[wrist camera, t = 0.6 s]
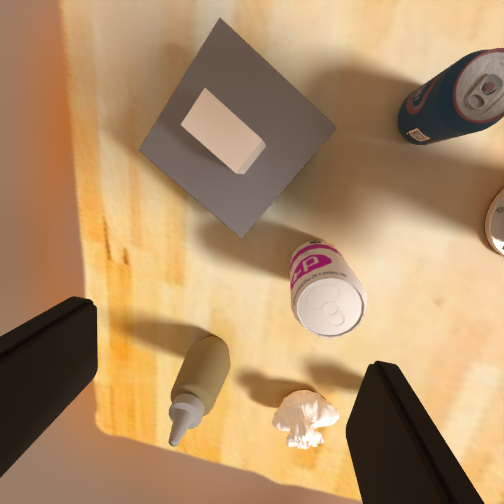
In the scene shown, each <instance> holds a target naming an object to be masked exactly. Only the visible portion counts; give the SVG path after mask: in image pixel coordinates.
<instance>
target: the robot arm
mask: <svg viewBox="0 0 504 504" xmlns="http://www.w3.org/2000/svg"><path fill="white" fill-rule="evenodd" d="M485 233H486V236H487V239H488V241H489V243H490V245H491V246H492V247H493V248H494V249H495V250H496V251H497V252H498V253H500V254H501V255H503V256H504V189H502V190H501V192H500V193H499V194H498V195H497V196H496V197H495V199H494V200H493V202H492V203H491V205H490V207H489V210H488V212H487V215H486V220H485ZM97 368H98V357H97V307H96V306H95V305H94V304H93V301H92V300H90V299H85V298H80V297H75V296H74V297H70V298H68V299H66V300H65V301H63V302H61V303H59V304H58V305H56V306H54V307H52V308H50V309H49V310H47V311H45V312H43V313H42V314H40V315H38V316H36V317H34V318H33V319H31V320H29V321H27V322H26V323H24V324H22V325H20V326H19V327H17V328H15V329H13V330H11V331H10V332H8V333H6V334H4V335H2V336H1V337H0V477H2V475H3V474H4V473H5V472H6V471H7V470H8V469H9V468H10V467H11V466H12V465H13V464H14V463H15V462H16V460H18V458H19V457H20V456H21V455H22V454H23V453H24V452H25V451H26V450H27V449H28V448H29V447H30V446H31V444H32V443H33V442H34V441H35V440H36V439H37V438H38V437H39V436H40V435H41V434H42V433H43V432H44V431H45V430H46V429H47V427H48V426H49V425H50V424H51V423H52V422H53V421H54V420H55V419H56V418H57V417H58V416H59V415H60V414H61V413H62V412H63V410H64V409H65V408H66V407H67V406H68V405H69V404H70V403H71V402H72V401H73V400H74V399H75V398H76V397H77V396H78V394H79V393H80V392H81V391H82V390H83V389H84V388H85V387H86V386H87V385H88V384H89V383H90V382H91V381H92V379H93V378H94V377H95V375H96V373H97ZM346 439H347V443H348V447H349V450H350V454H351V458H352V462H353V466H354V470H355V474H356V478H357V482H358V486H359V490H360V494H361V498H362V502H363V504H484V502H483V500H482V499H481V497H480V496H479V494H478V492H477V491H476V489H475V488H474V486H473V485H472V483H471V481H470V480H469V478H468V477H467V475H466V473H465V472H464V470H463V469H462V467H461V465H460V464H459V462H458V461H457V459H456V458H455V456H454V454H453V453H452V451H451V450H450V448H449V446H448V445H447V443H446V442H445V440H444V438H443V437H442V435H441V434H440V432H439V431H438V429H437V427H436V426H435V424H434V423H433V421H432V419H431V418H430V416H429V415H428V413H427V411H426V410H425V408H424V407H423V405H422V403H421V402H420V400H419V399H418V397H417V396H416V394H415V392H414V391H413V389H412V388H411V386H410V384H409V383H408V381H407V380H406V378H405V376H404V375H403V373H402V372H401V370H400V369H399V367H398V366H397V365H395V364H392V363H387V362H382V361H376V362H375V363H374V364H370V365H369V366H368V368H367V371H366V373H365V376H364V379H363V381H362V384H361V387H360V390H359V392H358V395H357V398H356V400H355V403H354V406H353V409H352V411H351V414H350V417H349V419H348V422H347V425H346Z"/></svg>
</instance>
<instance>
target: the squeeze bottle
mask: <svg viewBox="0 0 504 504" xmlns="http://www.w3.org/2000/svg"><path fill="white" fill-rule="evenodd" d="M229 370H230V356H229V350H228V347H227V344H226V343H225V342H224V341H223V340H222V339H220V338H218V337H214V336H209V337H205V338H204V339H202V340H200V341H199V342H198V343H196V344H195V345H193V346H192V347H191V348H190V349H189V351H188V352H187V354H186V357H185V359H184V362H183V364H182V366H181V369H180V371H179V374H178V376H177V379H176V381H175V383H174V386H173V388H172V391H171V401H172V405H171V406H170V408H169V416H170V419H171V420H172V421H173V425H172V429H171V433H170V438H169V444H170V445H171V446H177V445H178V443H179V442H180V440H181V439H182V437H183V436H184V434H185V433H186V431H187V430H188V429H192V428H195V427H197V426H198V425H199V424H200V422H201V420H202V417H203V416H205V415H207V414H208V413H209V412H210V411H211V409H212V408H213V406H214V403H215V401H216V399H217V397H218V395H219V392H220V390H221V388H222V386H223V384H224V381H225V379H226V377H227V375H228V373H229Z"/></svg>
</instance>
